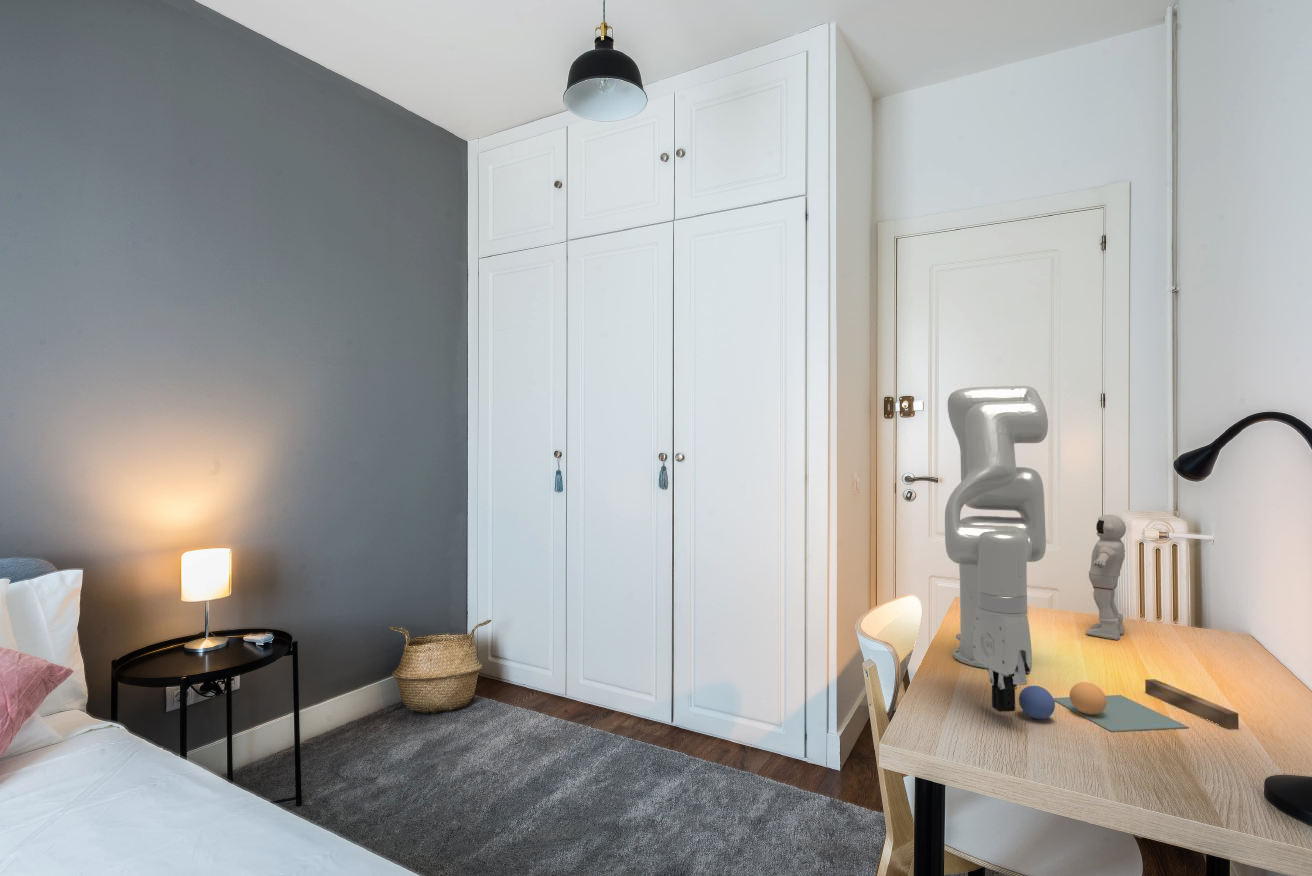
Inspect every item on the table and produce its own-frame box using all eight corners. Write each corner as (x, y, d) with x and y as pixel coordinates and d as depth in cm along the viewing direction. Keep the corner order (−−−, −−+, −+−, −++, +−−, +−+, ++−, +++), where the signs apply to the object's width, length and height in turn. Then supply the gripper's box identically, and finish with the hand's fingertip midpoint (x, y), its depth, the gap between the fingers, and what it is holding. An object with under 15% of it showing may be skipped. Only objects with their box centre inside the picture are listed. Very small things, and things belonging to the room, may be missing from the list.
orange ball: (1064, 675, 116) (1092, 679, 116) (1060, 706, 116) (1087, 709, 116) (1087, 686, 110) (1116, 690, 111) (1083, 718, 110) (1112, 722, 111)
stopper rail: (1145, 692, 123) (1145, 679, 123) (1155, 692, 123) (1154, 679, 123) (1227, 729, 107) (1227, 713, 107) (1238, 728, 107) (1238, 713, 107)
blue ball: (1038, 677, 114) (1045, 706, 114) (1009, 684, 114) (1016, 713, 114) (1058, 689, 109) (1065, 720, 109) (1027, 697, 109) (1034, 728, 109)
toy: (1099, 620, 174) (1098, 509, 175) (1137, 626, 169) (1135, 511, 169) (1074, 644, 153) (1073, 517, 154) (1116, 651, 148) (1114, 520, 148)
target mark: (1050, 699, 120) (1050, 698, 120) (1120, 696, 121) (1120, 694, 121) (1111, 732, 106) (1111, 730, 106) (1189, 728, 107) (1189, 726, 107)
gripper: (957, 594, 119) (958, 694, 119) (1009, 614, 104) (1011, 729, 104) (995, 593, 120) (997, 692, 119) (1053, 613, 105) (1054, 727, 105)
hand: (1003, 709), depth 112 cm, fingers closed
